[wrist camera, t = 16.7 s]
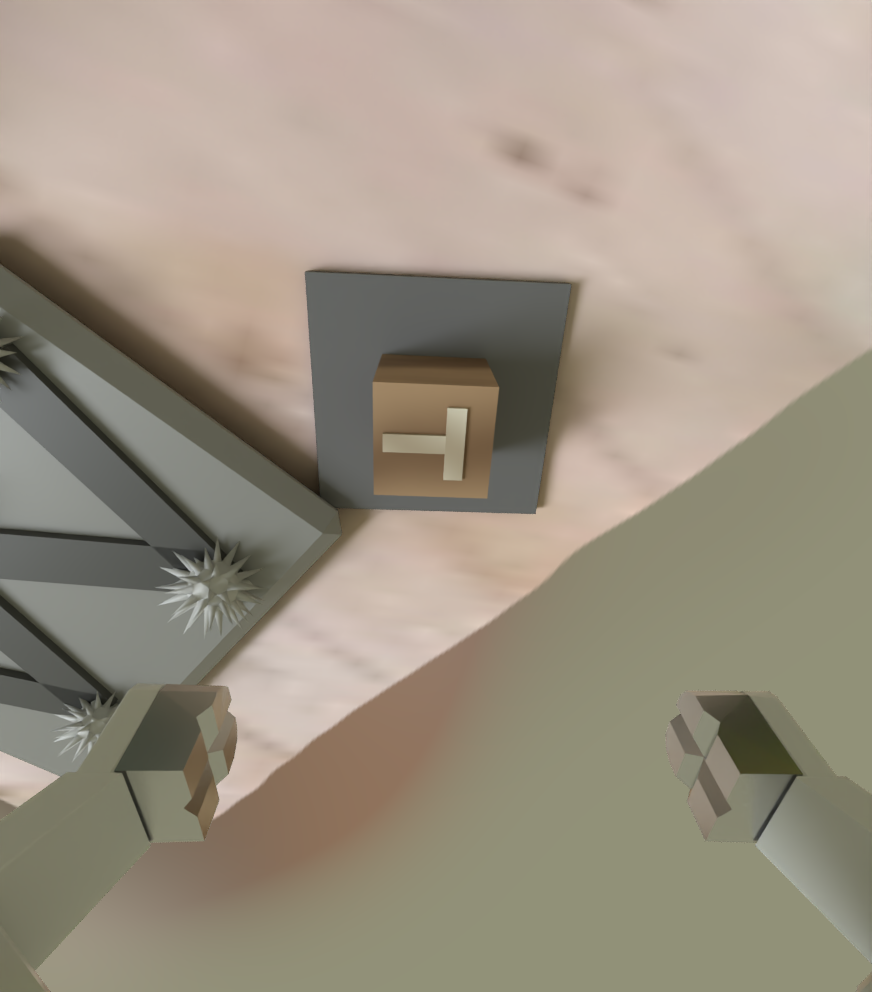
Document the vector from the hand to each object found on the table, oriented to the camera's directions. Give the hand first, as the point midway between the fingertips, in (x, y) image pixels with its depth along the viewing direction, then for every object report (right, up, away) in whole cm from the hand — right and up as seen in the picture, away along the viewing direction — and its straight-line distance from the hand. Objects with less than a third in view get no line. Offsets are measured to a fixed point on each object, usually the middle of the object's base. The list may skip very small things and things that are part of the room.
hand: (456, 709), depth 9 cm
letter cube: (-1, +8, +16) cm, 19 cm away
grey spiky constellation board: (-23, 0, +21) cm, 31 cm away
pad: (0, +9, +17) cm, 19 cm away
